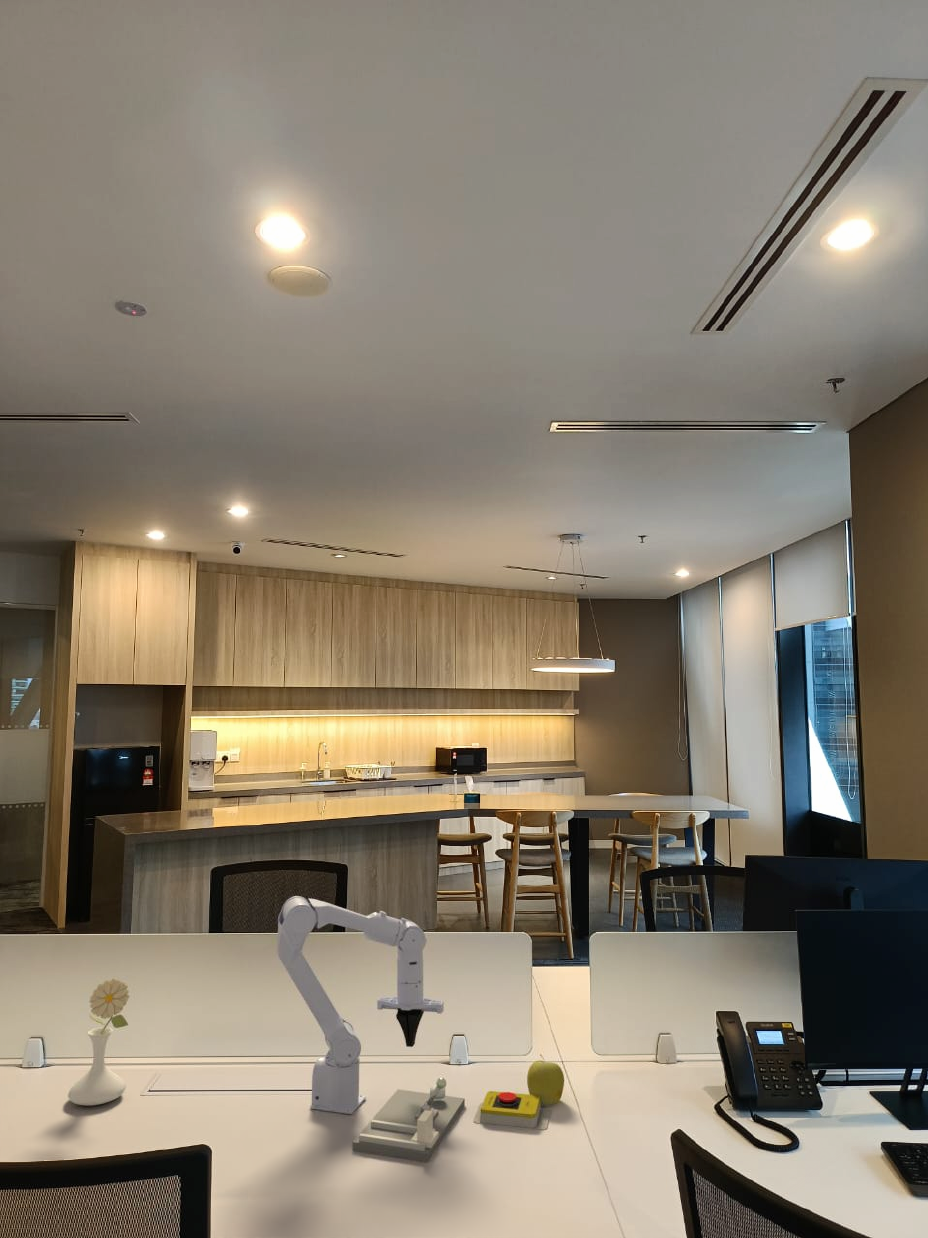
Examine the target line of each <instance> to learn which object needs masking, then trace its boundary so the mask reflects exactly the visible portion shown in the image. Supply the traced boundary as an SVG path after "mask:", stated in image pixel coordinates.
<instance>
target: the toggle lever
mask: <svg viewBox="0 0 928 1238" xmlns="http://www.w3.org/2000/svg"><path fill="white" fill-rule="evenodd" d="M435 1083H436V1084H435V1085H437V1086H436V1088H435V1090H434V1091H433V1093H432V1095H431V1096H430V1098H429V1100H428V1101H426V1102H425V1103H424V1105H423V1106H422V1108H421V1111H422V1113H423V1112H424V1110H429V1111H430V1109H431V1108H432V1106H433V1105H432V1103H433V1101H434V1100H435V1098H436V1096H437V1095H438V1093H439V1091H440V1090H441V1089H443V1088H445V1089H446V1086H447V1080H446V1078H444V1077H439V1078H438V1079H437V1080H436V1082H435Z"/></svg>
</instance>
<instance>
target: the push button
mask: <svg viewBox="0 0 928 1238" xmlns="http://www.w3.org/2000/svg"><path fill="white" fill-rule="evenodd" d="M436 1086H437V1084H433V1085H431V1086H430V1087H429V1094H430V1096H431V1095H432V1093H433V1091H434V1090H435V1088H436ZM445 1096H446V1087H445V1088H443V1089H441V1090H440V1091H439V1093H438V1095H437V1096H436V1098H435V1099H443V1098H444V1097H445Z"/></svg>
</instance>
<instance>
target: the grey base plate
mask: <svg viewBox="0 0 928 1238" xmlns="http://www.w3.org/2000/svg"><path fill="white" fill-rule="evenodd" d="M429 1098H430V1092H429V1093H428V1092H422V1091H420V1092H419V1091H414V1090H413V1091H412V1090H405V1089H400V1088H399V1089H397V1090H396V1091H394V1093H393V1094H392V1096H390V1098H389V1099H388V1100H387V1101H386V1102H385V1104H384V1105H382V1107H381V1108H380V1109H379V1111H378V1112H377V1113H376V1114H375V1115H374V1116H373V1117H372V1119H371V1120H369V1122H368V1123H367V1124H366V1125H365V1127H364V1128H363V1129H362V1131H361V1132H360V1133H359V1134H357V1136H356V1137H355V1138H354V1139H353V1140H352V1148H351V1149H352V1151H354V1152H360V1153H367V1154H374V1155H379V1156H384V1157H385V1156H387V1157H391V1158H392V1157H393V1158H398V1159H405V1160H411V1161H419V1162H423V1163H429V1161H430V1160H431V1158H432V1157H433V1156H434V1154H435V1153H436V1150H438V1148H439V1146H440V1145H441V1143H442V1142H443V1140H444V1138H445V1137H446V1135H447V1133H449V1130H450V1129H451V1128H452V1126H453V1124H454V1123H455V1121H456V1120H457V1118H458V1116H460V1114H461V1112H462V1111H463V1109H464V1108H465V1106H466V1105H465V1104H466V1103H465V1100H466V1099H465V1098H464V1097H459V1096H458V1097H456V1096H451V1095H450V1096H449V1095H445V1097H444V1098H443V1099H435V1100H434V1101H433V1103H432V1105H433V1106H432V1108H431V1109H430V1111H433V1131H436V1132H439V1137H438V1139H437V1140H436V1142H435V1143H434V1145H433V1146H432V1148H425V1143H421V1142H414V1141H411V1139H412V1138H413V1136H414V1135H415V1133H416V1132H417V1120H418V1118H419V1117H420V1116H421V1114H422V1111H421V1108H422V1106H423V1105H424V1103H425V1102H426V1101H428V1100H429Z"/></svg>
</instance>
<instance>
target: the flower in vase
mask: <svg viewBox="0 0 928 1238" xmlns="http://www.w3.org/2000/svg"><path fill="white" fill-rule="evenodd" d="M128 988H129V987H128V984H126V982H123V981H121V980H119V979H116V978H112V979H110V980H105V981H104V982H102V983H99V984H98V985H97V987H96V989H93V992H92V995H90V999H89V1003H90V1006H89V1007H90V1008H91V1010H90V1012H91V1013H88V1014H89V1016H90V1018H91V1020H92V1021H94V1022H97V1023H99V1024H101V1025H103V1026H102V1027H95V1028H92V1029H91V1030H89V1031H87V1035H88V1036H89V1038H90V1040H91V1043H92V1050H93V1051H92V1053H93V1056H92V1057H93V1059H92V1065H91V1067H90V1069H89V1071H88V1072H86V1073H85V1074H84V1075H83V1076H82V1077H80V1079H79V1080H77V1081H76V1082H75V1083H74V1084H73V1085H72V1086H71V1087H70V1089H69V1091H68V1094H67V1097H68V1099H69V1101H70V1102H71V1103H73V1104H75V1105H78V1106H79V1105H80V1106H97V1105H98V1106H99V1105H102V1104H106V1103H109V1102H111V1101H114V1100H115V1099H117V1098H119V1097H120V1096H122V1095H123V1093H124V1092H125V1090H126V1088H127V1086H126V1083H125V1080H124V1079H123V1078H121V1076H119V1075H117V1074H116V1073H114V1072H113V1071H112V1070H110V1069H109V1068H108V1067H107V1066H106V1061H105V1054H106V1048H107V1047H106V1046H107V1042H108V1040H109V1037H110V1035H111V1034H112V1033H113V1031H114V1030H113V1028H117V1029H119V1028H123V1027H127V1026H129V1024H128V1022H127V1019H126V1018H125V1017H124V1016H123V1014H120V1013H121V1012H122V1011H123V1010H124V1007H125V1006H126V1005H127V1002H128V1000H129V999H130V994H129V989H128ZM91 1014H93V1016H92V1015H91ZM94 1016H96V1017H100V1018H101V1019H104V1020H106V1019H107V1018H109V1020H108V1021H107V1022H106V1024H105V1023H104V1022H103V1021H102V1020H100V1019H99V1018H96V1017H94ZM110 1022H111V1024H112V1026H113V1028H111V1027H108V1025H109V1023H110Z"/></svg>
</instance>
